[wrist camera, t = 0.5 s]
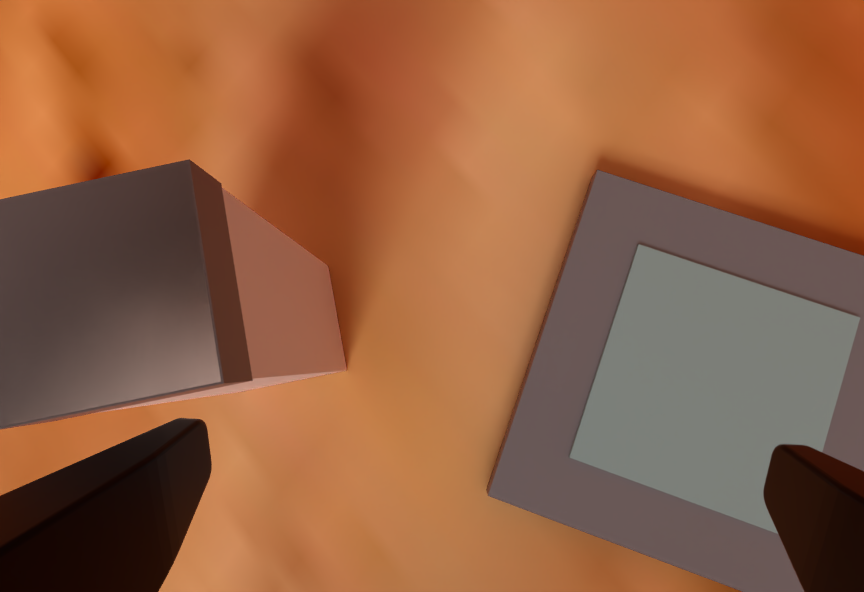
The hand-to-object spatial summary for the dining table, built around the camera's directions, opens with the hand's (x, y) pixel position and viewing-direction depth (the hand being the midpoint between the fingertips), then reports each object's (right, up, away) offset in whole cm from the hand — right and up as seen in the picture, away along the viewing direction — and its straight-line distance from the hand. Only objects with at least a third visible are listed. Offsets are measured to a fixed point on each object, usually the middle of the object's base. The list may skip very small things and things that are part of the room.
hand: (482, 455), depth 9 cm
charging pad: (+10, -1, +14) cm, 18 cm away
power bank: (-7, +1, +15) cm, 17 cm away
